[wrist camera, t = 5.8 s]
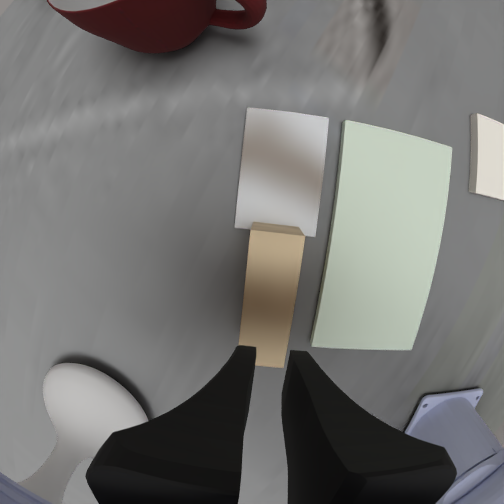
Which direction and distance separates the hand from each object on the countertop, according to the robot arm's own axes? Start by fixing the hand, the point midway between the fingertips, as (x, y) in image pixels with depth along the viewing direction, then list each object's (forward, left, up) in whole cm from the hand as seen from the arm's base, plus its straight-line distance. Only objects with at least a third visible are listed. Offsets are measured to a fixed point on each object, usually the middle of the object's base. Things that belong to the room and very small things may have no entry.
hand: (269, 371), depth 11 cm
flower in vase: (-14, +13, -10) cm, 22 cm away
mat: (+4, -8, -10) cm, 13 cm away
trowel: (0, 0, -10) cm, 10 cm away
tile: (+8, -17, -10) cm, 21 cm away
